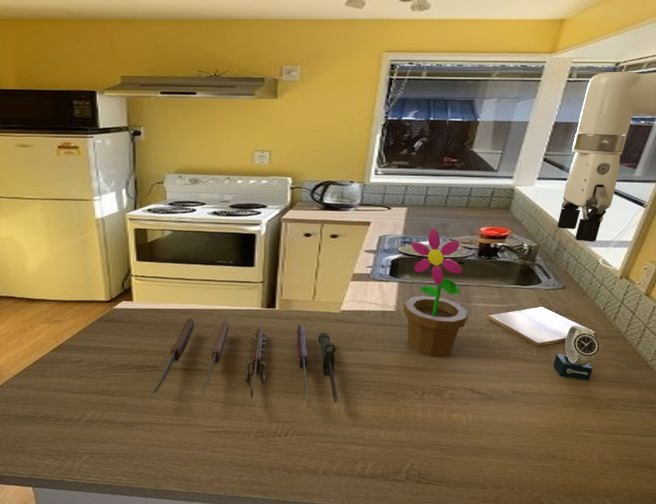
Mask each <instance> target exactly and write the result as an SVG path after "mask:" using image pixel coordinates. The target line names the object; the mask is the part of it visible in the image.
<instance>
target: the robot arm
mask: <svg viewBox="0 0 656 504" xmlns="http://www.w3.org/2000/svg"><path fill="white" fill-rule="evenodd" d="M632 118H656V72H650V73H638V72H633V71H610V72H607V71H606V72H601V73H597V74H595V75H593V76H592V77H591V78H590V80H589V82H588V84H587V88H586V92H585V96H584V100H583V104H582V109H581V111H580V117H579V121H578V124H577V125H578V126H577V129H576V133H575V137H574V141H573V145H572V150H571V152H572V153H574V156H573V159H572V163H571V165H570V168H569V172H568V175H567V179H566V183H565V186H564V192H563V202H562V203H561V209H560V214H559V217H558V221H557V225H556V226H557V228H559V229H565V230H575V229H576V228H577V230H576V233H575V237H574V239H575V240H576V241H579V242H590V243H591V242H592V243H594V242H596V241H597V238H598V234H599V230H600V227H601V223H602V221H603V220H604V216H605V214H606V213H607V210H608V209H609V208H610V207H611V206H612V202H613V199H614V194H615V189H616V185H617V180H618V175H619V170H620V169H619V168H620V159H621V155H622V154H623V151H624V148H625V143H626V140H627V135H628V133H629V129H630V125H631V122H632ZM579 208H581V209H579ZM581 210H582V211H581ZM581 212H582V218H579V217H580V213H581ZM578 219H579V220H578ZM578 221H579V222H578ZM577 225H578V226H577Z"/></svg>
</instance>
